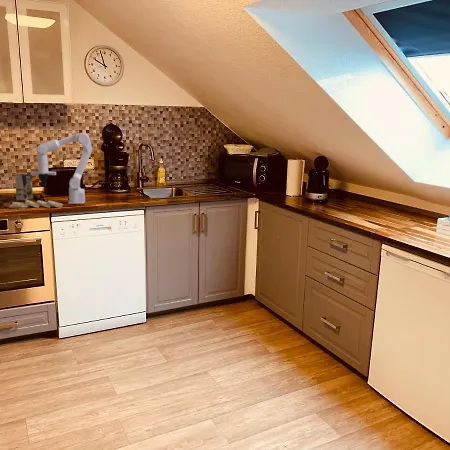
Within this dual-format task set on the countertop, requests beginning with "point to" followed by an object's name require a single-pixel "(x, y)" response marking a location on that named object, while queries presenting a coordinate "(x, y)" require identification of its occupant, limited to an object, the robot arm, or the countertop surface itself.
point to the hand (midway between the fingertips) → (44, 186)
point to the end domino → (15, 207)
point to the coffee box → (24, 186)
